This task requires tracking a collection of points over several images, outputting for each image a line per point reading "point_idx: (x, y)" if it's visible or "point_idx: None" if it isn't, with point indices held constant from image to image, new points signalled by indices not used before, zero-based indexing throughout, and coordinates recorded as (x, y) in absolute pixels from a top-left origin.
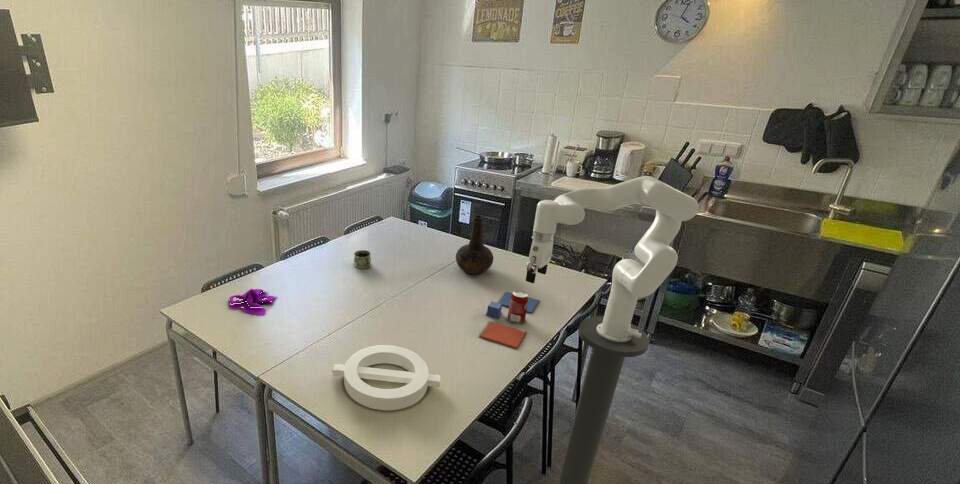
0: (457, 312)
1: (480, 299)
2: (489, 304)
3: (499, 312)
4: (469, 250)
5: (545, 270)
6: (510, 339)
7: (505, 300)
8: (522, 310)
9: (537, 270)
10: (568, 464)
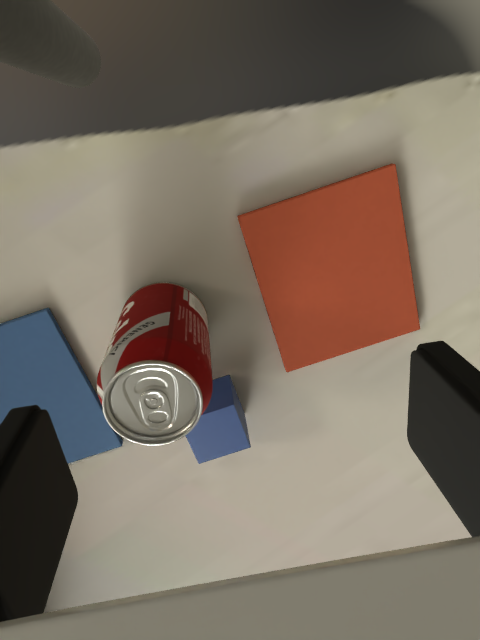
0: (316, 485)
1: (155, 501)
2: (233, 451)
3: None
4: None
5: (20, 453)
6: (355, 226)
7: (72, 443)
8: (181, 315)
9: (67, 518)
10: (86, 58)
